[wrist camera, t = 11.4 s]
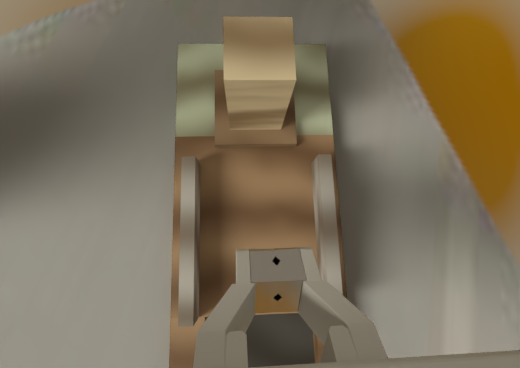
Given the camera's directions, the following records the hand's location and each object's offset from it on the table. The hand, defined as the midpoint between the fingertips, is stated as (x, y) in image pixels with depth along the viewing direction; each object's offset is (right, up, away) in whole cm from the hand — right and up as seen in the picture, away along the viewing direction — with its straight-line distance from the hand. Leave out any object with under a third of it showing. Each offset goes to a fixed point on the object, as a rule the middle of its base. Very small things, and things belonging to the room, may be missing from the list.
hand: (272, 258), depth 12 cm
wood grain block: (-1, +11, +19) cm, 21 cm away
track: (-1, 0, +19) cm, 19 cm away
